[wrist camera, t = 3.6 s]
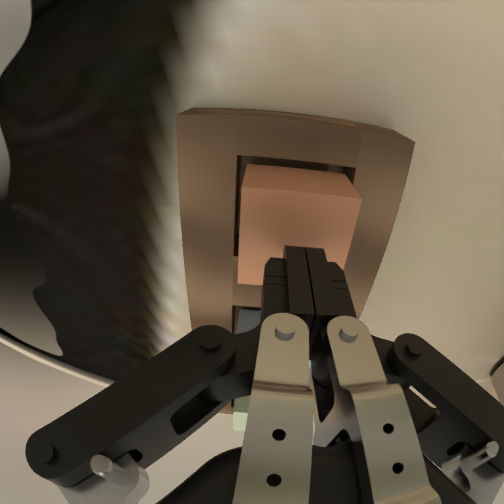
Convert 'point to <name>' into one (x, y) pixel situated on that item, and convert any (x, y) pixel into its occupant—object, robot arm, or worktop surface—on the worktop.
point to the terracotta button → (293, 216)
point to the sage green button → (240, 413)
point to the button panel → (285, 155)
